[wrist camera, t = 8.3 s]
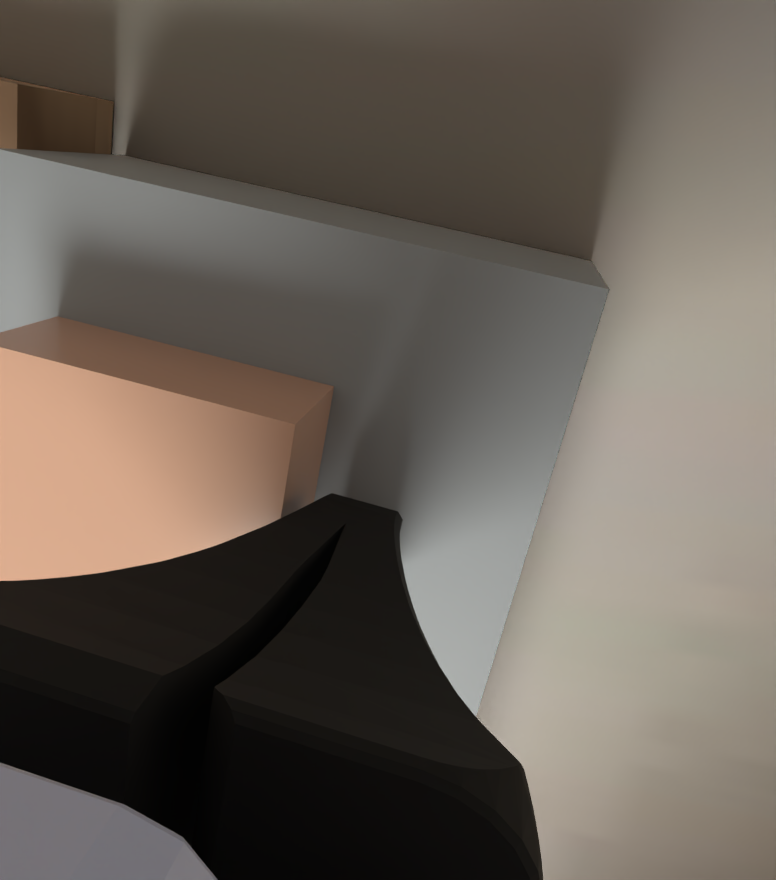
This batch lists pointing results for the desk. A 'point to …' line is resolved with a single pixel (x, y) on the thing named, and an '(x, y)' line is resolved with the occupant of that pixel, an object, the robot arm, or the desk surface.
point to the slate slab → (338, 348)
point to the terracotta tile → (142, 449)
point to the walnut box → (53, 119)
